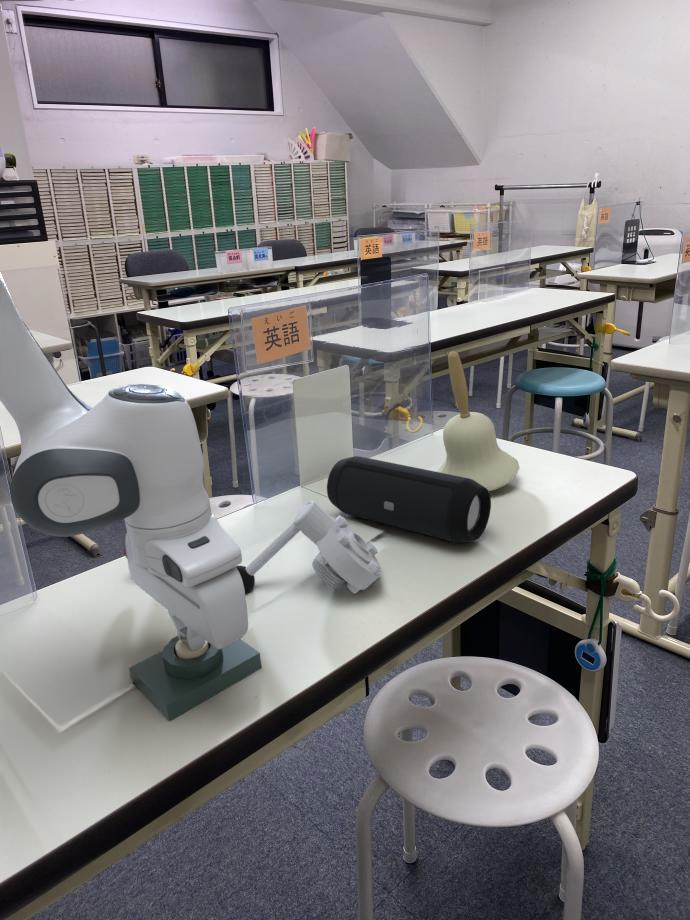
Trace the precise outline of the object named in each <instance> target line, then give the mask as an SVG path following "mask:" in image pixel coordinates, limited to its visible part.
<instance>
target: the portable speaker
mask: <svg viewBox="0 0 690 920" xmlns="http://www.w3.org/2000/svg"><path fill="white" fill-rule="evenodd" d="M326 494H327V497H328V500H329V502H330V503H331V504H332V505H333V506H334V507H336V508H337V509H338V510H339V511H340V512H342V513H343V514H346V515H349V516H354V517H356V518H357V517H358V518H361V519H363V520H364V519H365V520H369V521H371V522H375V523H379V524H383V525H387V526H391V527H395V528H399V529H402V530H407V531H411V532H414V533H418V534H422V535H425V536H430V537H433V538H437V539H440V540H445V541H448V542H452V543H456V544H461V543H468V542H475V541H477V540H479V539H480V538H481V537H482V535H483V534H484V532H485V531H486V528H487V526H488V524H489V520H490V515H491V509H492V498H491V493H490V491H488V490H487V489H486V488H485V487H484V486H482V485H481V484H479V483H477V482H476V481H474V480H472V479H469V478H465V477H460V476H455V475H450V474H445V473H440V472H437V471H434V470H430V469H425V468H419V467H415V466H411V465H410V466H409V465H404V464H400V463H396V462H395V463H394V462H390V461H386V460H385V461H384V460H381V459H380V460H379V459H374V458H369V457H364V456H359V455H354V456H350V457H346V458H342V459H340V460H338V461H336V463H335V464H334V465H333V467H332V468H331V470H330V472H329V474H328V477H327V483H326Z"/></svg>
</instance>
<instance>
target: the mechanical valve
mask: <svg viewBox="0 0 690 920" xmlns="http://www.w3.org/2000/svg"><path fill="white" fill-rule="evenodd" d="M299 532H301V533H302V534H303V535H304V536H305V537H306V538H307V539H309V540H310V541H311V542H312V543H313V544H314V545H315V546H316V547H317V549H318V553H317V554H316V555H315V558H313V560H312V568H313V570H314V572H315V573H316V575H317V577H318V578H319V579H320V580H321V581H322V582H323V583H324V584H325V585H326V586H328V587H329V588H331V589H334V590H338V589H339V588H341V586H343V585H344V584H345V583H346V582H347V584H346V586H347V588H348V590H349V591H350V592H351V593H353V594H355V595H356V594H357V593H359V592H360V591H365V590H366V589H367V588H369V587H370V586H371V585H372V584H373V583H374V582H375V581H376V580H378V579H379V578H380V577H381V576H382V574H383V571H382V568H381V565H380V563H379V561H378V559H377V558H376V554H378V549H377V547H376V546H375V545H374V544H373V543H371V542H366V541H365V540H364V538H362V537H361V536H360V534H358V533H356V532H354V531H353V530H352V529H351V528H350V527H349V522H348V521H347V519H346V518H345V517H344V516H342V515H340V514H339V515H338V516H337V517H335V518H334V517H333V518H332V517H331V516H330V515H329V514H328V513H327V512H326V511H325V510H324V509H323V508H322V507H320V505H318V503H316V502H315V501H314V500H310V501H308V502H306V504H305V505H304V506H303V507H301V509H299V511H298V512H297V514H296V515H295V517H294V520H293V522H292V523H291V524H290V525H289V526H288V527H287V528H285V530H284V531H282V532H281V533H280V534H279V536H277V537H276V538H275V539H274V541H272V542H271V543H270V544H269V545H268V546H267V547H265V549H264V550H262V552H260V554H259V555H257V556H256V557H255V558H254V559H253V560H252V561H251V562H250V563H249V564H248V565H247V566H245V565H237V566H235V567H236V568H237V570H238V571H239V573H240V575H241V578H242V581H243V585H244V590H245V595H247V594H248V593H250V592H251V591H252V590H253V589H254V586H255V582H256V580H255V579H256V578H255V575H256V573H257V572H259V570H261V569H262V568H263V567H264V566H266V564H267V563H268V562H269V561H270V560H271V559H272V558H273V557H274V556H276V554H278V552H279V551H281V550H282V549H283V548H284V547H285V546H286V545H287V544H288V543H289V542H290V541H291V540H292V539H293V538H294V537H295V536H296V535H297V534H299Z"/></svg>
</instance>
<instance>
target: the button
mask: <svg viewBox="0 0 690 920" xmlns="http://www.w3.org/2000/svg"><path fill="white" fill-rule="evenodd" d="M175 648H176V654H177V657H178V658H181V659H192V658H198V657H199V656H201V655H203V654H205V653H206V652H207V651H208V650H209V646H208V642H207V641H206V640H205V644H204V646H202V647H201V648H199V649H197V650H195V651H194V650H191V649H190V648H189V647H188V646H187V645H186V644H185V643H183V642H182V641H181V640H179V641H178V642H177V643H176V646H175Z"/></svg>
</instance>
